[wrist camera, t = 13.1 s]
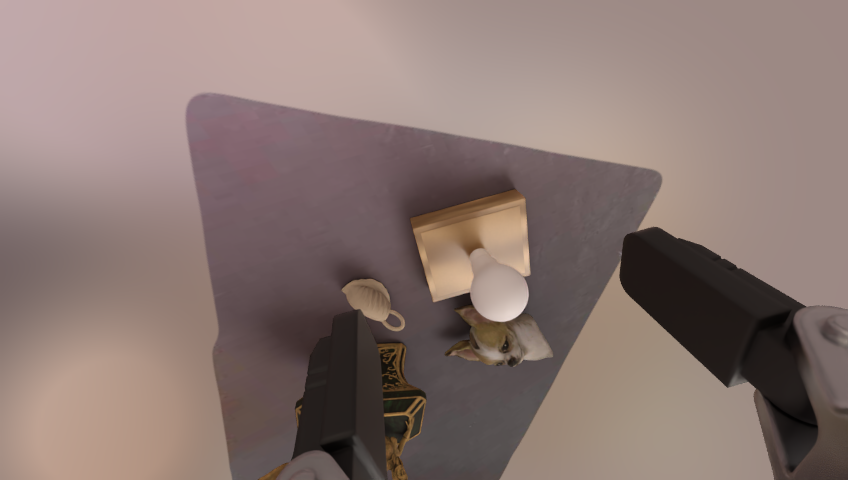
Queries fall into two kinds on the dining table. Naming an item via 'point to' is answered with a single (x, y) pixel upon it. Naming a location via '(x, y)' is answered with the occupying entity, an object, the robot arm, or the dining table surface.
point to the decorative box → (390, 409)
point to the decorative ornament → (371, 301)
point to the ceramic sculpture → (500, 340)
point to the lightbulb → (496, 288)
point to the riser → (471, 240)
